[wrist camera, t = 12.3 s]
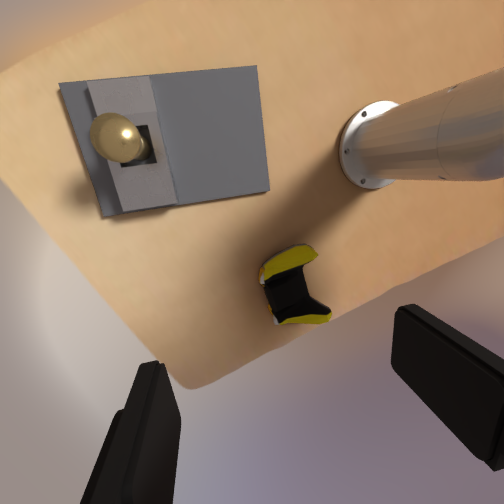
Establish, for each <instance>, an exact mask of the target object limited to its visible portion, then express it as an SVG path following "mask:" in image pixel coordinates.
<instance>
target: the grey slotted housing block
mask: <svg viewBox="0 0 504 504" xmlns="http://www.w3.org/2000/svg"><path fill="white" fill-rule="evenodd" d="M87 85H88V88H89V91H90V94H91V98H92V101H93V104H94V107H95V111H96V114H97V117H98V116H99V115H101V114H103V113H110V112H111V113H117V114H120V115H122V116H124V117H126V118H127V119H129V120H130V121H131V122H132V123H133V124H134V125H135V126H136V127H137V129H138V130H140V129H149V132H150V136H151V140H152V144H153V148H154V152H155V156H156V160H157V163H153V164H146V165H138V166H131V167H127V166H126V163H119V162H113V161H110V160H107V161H108V164H109V167H110V171H111V174H112V177H113V180H114V183H115V187H116V190H117V193H118V196H119V199H120V203H121V206H122V209H123V212H124V211H131V210H137V209H143V208H150V207H156V206H163V205H169V204H176V203H178V202H179V198H178V193H177V189H176V185H175V181H174V176H173V172H172V168H171V163H170V159H169V155H168V150H167V146H166V142H165V137H164V133H163V129H162V125H161V120H160V116H159V112H158V107H157V103H156V99H155V94H154V90H153V86H152V81H151V79H150V77H149V76H142V77H131V78H119V79H108V80H97V81H87ZM94 119H95V118H94Z"/></svg>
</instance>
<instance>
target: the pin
mask: <svg viewBox="0 0 504 504" xmlns="http://www.w3.org/2000/svg"><path fill="white" fill-rule="evenodd" d="M90 139H91V142H92V144H93V146H94V148H95V149H96V151H97V152H98V153H99V154H100V155H101V156H102V157H104V158H106V159H107V160H110V161H113V162H119V163H125V162H129V161H131V160H133V159H137V160H146V159H147V158H149V157H150V155H151V153H152V147H151V144H150V142H149V141H148V140H147V139H146V138H144V137H143V136H141V135H140V133H139V131H138V129H137V127H136V126H135V125H134V124H133V123H132V122H131V121H130V120H129V119H127V118H126V117H124V116H122V115H120V114H117V113H111V112H110V113H103V114H101V115H99V116H98V117H96V118H95V119H94V121H93V122H92V124H91V127H90Z"/></svg>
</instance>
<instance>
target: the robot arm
mask: <svg viewBox="0 0 504 504" xmlns="http://www.w3.org/2000/svg"><path fill="white" fill-rule="evenodd" d="M344 151H345V153H344ZM339 157H340V163H341V167H342V170H343V171H344V173H345V175H346V177H347V178H348V179H349V180H350V181H351V182H352V183H354V184H355V185H357V186H359V187H362V188H368V189H377V188H382V187H385V186H387V185H389V184H391V183H392V182H394V181H395V180H396V179H397V180H438V181H489V180H495V179H499V178H503V177H504V67H503V68H500V69H497V70H495V71H492V72H489V73H486V74H484V75H481V76H478V77H476V78H473V79H470V80H467V81H465V82H462V83H459V84H456V85H454V86H451V87H448V88H445V89H443V90H440V91H437V92H434V93H432V94H429V95H426V96H423V97H420V98H418V99H415V100H412V101H409V102H407V103H404V104H401V105H399V104H397V103H395V102H392V101H378V102H374V103H371V104H369V105H367V106H365V107H363V108H362V109H360V110H359V111H358V112H357V113H355V114H354V115H353V117H352V118H351V119H350V120H349V122H348V123H347V125H346V127H345V129H344V131H343V134H342V137H341V141H340V146H339ZM391 365H392V367H393V369H394V371H395V372H396V373H397V374H398V375H399V376H400V377H401V378H402V380H403V381H404V382H405V383H406V384H407V385H408V386H409V387H410V388H411V389H412V390H413V391H414V392H415V393H416V394H417V395H418V396H419V397H420V399H421V400H422V401H423V402H424V403H425V404H426V405H427V406H428V407H429V408H430V409H431V410H432V411H433V412H434V413H435V414H436V416H438V418H439V419H440V420H441V421H442V422H443V423H444V424H445V425H446V426H447V427H448V428H449V429H450V430H451V431H452V432H453V433H454V435H455V436H456V437H457V438H458V439H459V440H460V441H461V442H462V443H463V444H464V445H465V446H466V447H467V448H468V449H469V451H470V452H471V453H472V454H473V455H474V456H475V457H477V458H478V459H480V460H482V461H484V462H485V463H486V464H487V465H488V466H489V467H490V468H491V469H492V470H493V471H497V470H501V469H504V359H502V358H501V357H499V356H497V355H496V354H494V353H493V352H491V351H489V350H487V349H486V348H485V347H483V346H481V345H480V344H478V343H477V342H475V341H473V340H472V339H470V338H469V337H467V336H466V335H464V334H462V333H461V332H459V331H457V330H456V329H454V328H453V327H451V326H450V325H448V324H446V323H445V322H443V321H442V320H440V319H438V318H437V317H435V316H434V315H432V314H430V313H429V312H427V311H426V310H424V309H423V308H421V307H419V306H418V305H416V304H409V305H405V306H401V307H399V308H398V309H397V311H396V312H395V318H394V331H393V342H392V354H391ZM180 431H181V416H180V412H179V409H178V406H177V403H176V400H175V396H174V393H173V390H172V386H171V383H170V380H169V377H168V374H167V370H166V367H165V364H164V363H161V364H160V363H159V361H158V360H156V361H152V362H147V363H142V364H141V365H140V366H139V368H138V371H137V374H136V377H135V380H134V383H133V386H132V388H131V391H130V393H129V396H128V399H127V402H126V404H125V407H124V409H122V410H119V411H117V413H116V414H115V416H114V418H113V420H112V423H111V425H110V428H109V431H108V433H107V436H106V438H105V441H104V443H103V446H102V448H101V451H100V453H99V456H98V459H97V461H96V464H95V466H94V469H93V471H92V474H91V476H90V479H89V482H88V484H87V487H86V489H85V492H84V495H83V497H82V499H81V502H80V504H173V495H174V485H175V477H176V468H177V459H178V449H179V439H180Z"/></svg>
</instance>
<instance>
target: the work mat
mask: <svg viewBox="0 0 504 504" xmlns="http://www.w3.org/2000/svg"><path fill="white" fill-rule="evenodd" d="M143 76H149V77H150V79H151V81H152V86H153V90H154V94H155V99H156V103H157V107H158V112H159V116H160V120H161V125H162V129H163V133H164V137H165V142H166V146H167V150H168V155H169V159H170V163H171V168H172V172H173V176H174V181H175V185H176V189H177V193H178V198H179V202H178V203H176V204H169V205H163V206H156V207H150V208H143V209H137V210H131V211H124V212H123V209H122V206H121V203H120V199H119V196H118V193H117V190H116V187H115V183H114V180H113V177H112V174H111V171H110V167H109V164H108V161H107V159H106V158H104V157H102V156H101V155H100V154H99V153H98V152H97V151H96V149H95V148H94V146H93V144H92V142H91V139H90V127H91V124H92V122H93V121H94V118H96V117H97V114H96V111H95V107H94V104H93V101H92V98H91V94H90V91H89V88H88V85H87V81H97V80H87V81H76V82H64V83H58V84H59V87H60V90H61V92H62V95H63V98H64V101H65V104H66V107H67V110H68V113H69V116H70V119H71V122H72V125H73V128H74V131H75V133H76V136H77V139H78V142H79V145H80V148H81V151H82V154H83V157H84V160H85V163H86V166H87V169H88V172H89V174H90V177H91V180H92V183H93V186H94V189H95V192H96V195H97V198H98V201H99V204H100V207H101V210H102V213H103V215H104V217H106V216H112V215H118V214H125V213H131V212H138V211H144V210H150V209H157V208H163V207H169V206H176V205H182V204H189V203H195V202H201V201H208V200H214V199H221V198H227V197H233V196H240V195H246V194H253V193H259V192H265V191H270V185H269V176H268V166H267V157H266V148H265V138H264V129H263V120H262V110H261V101H260V92H259V82H258V73H257V65H255V66H244V67H233V68H221V69H210V70H199V71H188V72H176V73H165V74H154V75H143ZM132 77H142V76H132ZM120 78H131V77H120ZM109 79H119V78H109ZM98 80H108V79H98ZM138 131H139V133H140V135H141V136H143V137H144V138H146V139H147V140H148V141H149V142H150V144H151V147H152V153H151V155H150V157H149V158H147V159H146V160H137V159H133V160H131V161H129V162H125V163H126V166H127V167H131V166H138V165H146V164H153V163H157V160H156V156H155V152H154V148H153V144H152V140H151V136H150V132H149V129H140V130H138Z"/></svg>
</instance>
